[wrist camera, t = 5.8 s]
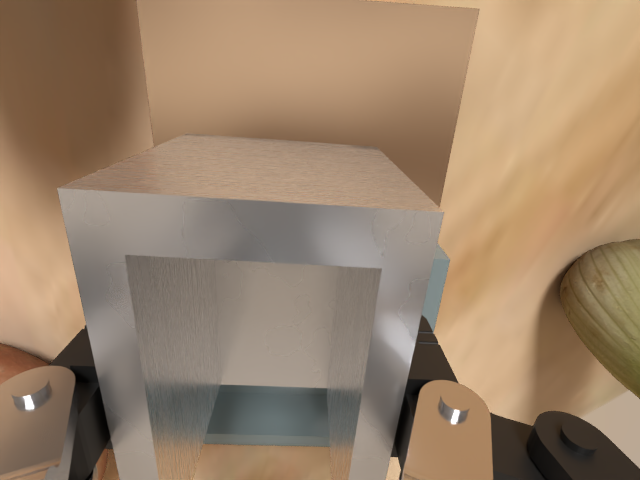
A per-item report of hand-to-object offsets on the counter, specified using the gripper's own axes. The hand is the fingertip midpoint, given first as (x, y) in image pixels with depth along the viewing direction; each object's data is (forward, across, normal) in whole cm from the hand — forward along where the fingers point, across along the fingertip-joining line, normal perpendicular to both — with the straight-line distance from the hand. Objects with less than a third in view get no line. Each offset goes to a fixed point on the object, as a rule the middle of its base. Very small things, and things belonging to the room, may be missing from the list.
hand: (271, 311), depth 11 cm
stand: (+9, -1, -4) cm, 10 cm away
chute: (+2, 0, 0) cm, 2 cm away
